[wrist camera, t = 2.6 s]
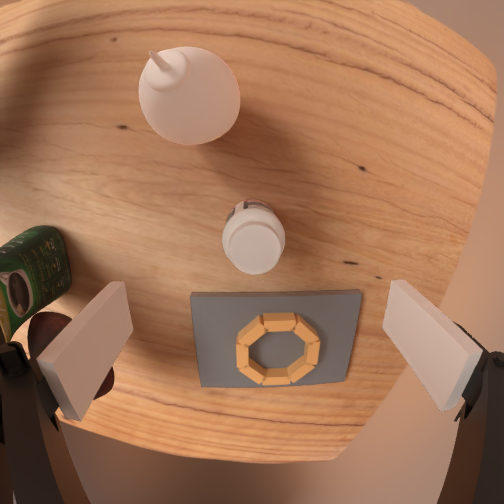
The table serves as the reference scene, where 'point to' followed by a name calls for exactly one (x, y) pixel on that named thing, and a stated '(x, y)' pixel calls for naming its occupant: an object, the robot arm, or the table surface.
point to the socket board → (274, 337)
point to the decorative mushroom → (45, 327)
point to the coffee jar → (31, 276)
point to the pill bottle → (253, 237)
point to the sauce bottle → (188, 95)
